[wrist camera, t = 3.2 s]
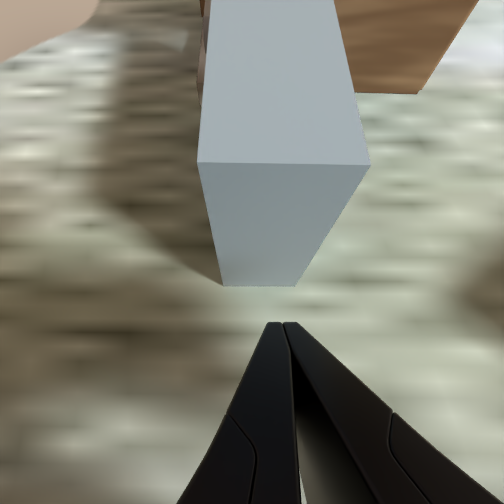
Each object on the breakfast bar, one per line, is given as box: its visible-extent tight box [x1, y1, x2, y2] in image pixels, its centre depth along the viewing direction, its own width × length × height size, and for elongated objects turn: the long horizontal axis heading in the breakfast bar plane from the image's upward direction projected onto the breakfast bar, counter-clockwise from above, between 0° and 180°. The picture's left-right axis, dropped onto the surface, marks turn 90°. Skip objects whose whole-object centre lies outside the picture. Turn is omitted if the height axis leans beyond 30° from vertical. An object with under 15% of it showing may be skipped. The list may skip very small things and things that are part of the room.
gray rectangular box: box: [197, 0, 371, 286], centre depth 14 cm, size 16×5×10 cm, turn 1°
